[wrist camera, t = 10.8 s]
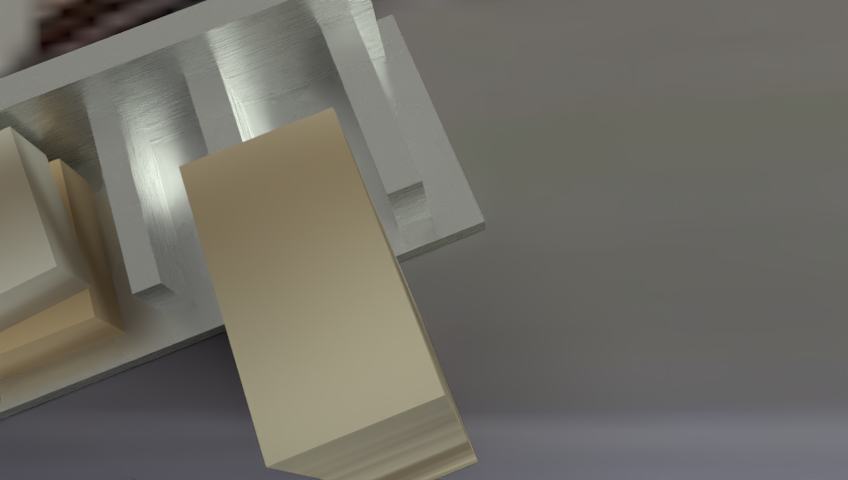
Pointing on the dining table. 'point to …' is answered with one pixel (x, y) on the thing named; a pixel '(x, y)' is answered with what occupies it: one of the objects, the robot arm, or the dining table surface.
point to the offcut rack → (214, 131)
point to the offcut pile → (49, 261)
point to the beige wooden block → (321, 311)
